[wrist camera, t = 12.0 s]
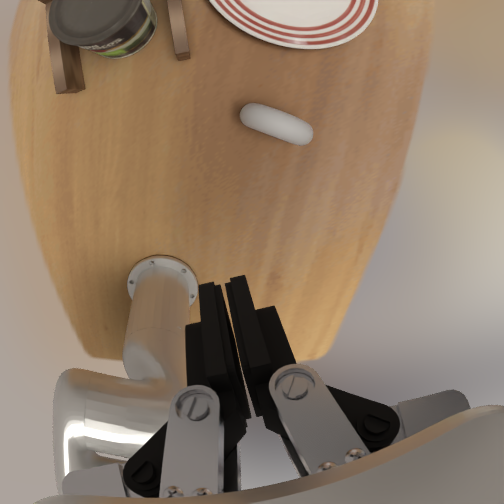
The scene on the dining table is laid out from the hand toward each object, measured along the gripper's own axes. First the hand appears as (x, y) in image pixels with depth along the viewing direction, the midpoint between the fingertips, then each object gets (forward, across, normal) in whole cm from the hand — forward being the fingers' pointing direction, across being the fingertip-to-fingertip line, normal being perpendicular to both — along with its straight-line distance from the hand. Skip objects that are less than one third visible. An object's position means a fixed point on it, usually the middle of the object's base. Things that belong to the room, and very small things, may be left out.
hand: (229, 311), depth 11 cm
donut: (+35, -10, -2) cm, 37 cm away
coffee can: (+35, +8, -21) cm, 42 cm away
